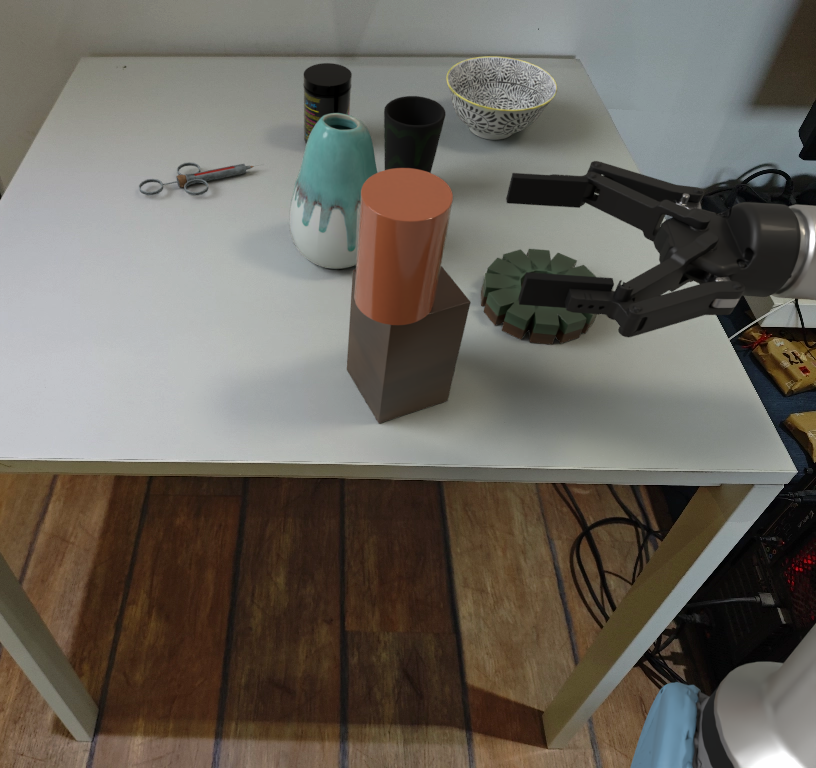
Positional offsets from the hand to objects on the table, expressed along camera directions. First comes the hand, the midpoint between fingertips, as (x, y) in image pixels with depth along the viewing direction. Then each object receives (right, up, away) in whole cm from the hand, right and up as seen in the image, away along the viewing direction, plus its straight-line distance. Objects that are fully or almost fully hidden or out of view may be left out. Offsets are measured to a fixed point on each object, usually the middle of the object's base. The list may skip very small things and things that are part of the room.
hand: (514, 234), depth 61 cm
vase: (-14, +4, +31) cm, 34 cm away
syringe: (-32, +16, +41) cm, 54 cm away
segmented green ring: (+10, -3, +24) cm, 26 cm away
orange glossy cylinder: (-10, -5, +4) cm, 12 cm away
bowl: (+11, +26, +50) cm, 57 cm away
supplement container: (-15, +24, +47) cm, 55 cm away
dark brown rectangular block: (-8, -13, +16) cm, 22 cm away
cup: (-4, +14, +39) cm, 41 cm away
